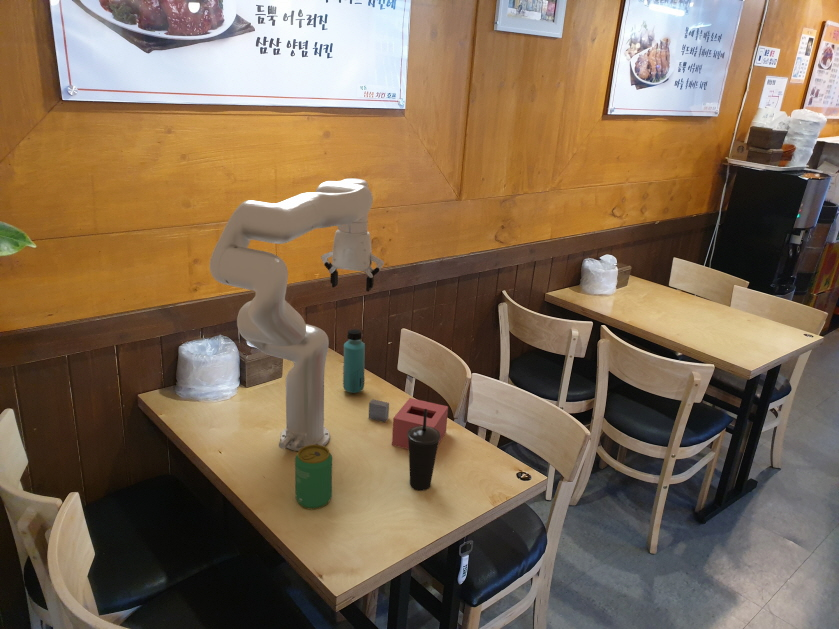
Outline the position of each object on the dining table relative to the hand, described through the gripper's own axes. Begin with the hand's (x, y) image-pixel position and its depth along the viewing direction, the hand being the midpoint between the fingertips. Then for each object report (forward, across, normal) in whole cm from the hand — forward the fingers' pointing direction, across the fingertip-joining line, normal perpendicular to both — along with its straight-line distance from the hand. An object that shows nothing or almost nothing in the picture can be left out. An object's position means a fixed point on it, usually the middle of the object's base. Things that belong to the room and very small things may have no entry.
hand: (351, 288), depth 170 cm
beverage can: (+35, +5, -46) cm, 58 cm away
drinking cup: (+35, +28, -35) cm, 56 cm away
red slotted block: (+35, +24, -15) cm, 45 cm away
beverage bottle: (+35, 0, +5) cm, 35 cm away
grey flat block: (+35, +11, -8) cm, 37 cm away
